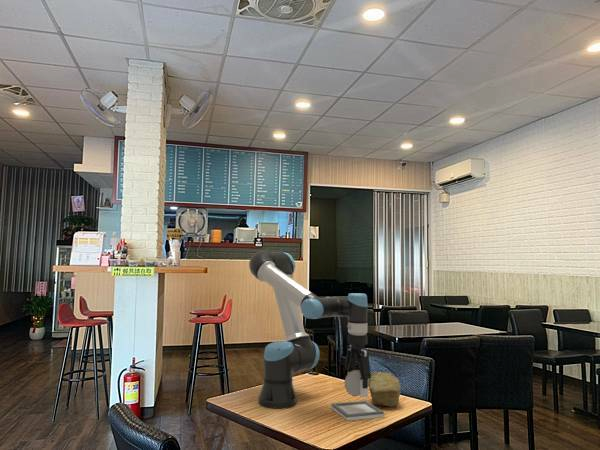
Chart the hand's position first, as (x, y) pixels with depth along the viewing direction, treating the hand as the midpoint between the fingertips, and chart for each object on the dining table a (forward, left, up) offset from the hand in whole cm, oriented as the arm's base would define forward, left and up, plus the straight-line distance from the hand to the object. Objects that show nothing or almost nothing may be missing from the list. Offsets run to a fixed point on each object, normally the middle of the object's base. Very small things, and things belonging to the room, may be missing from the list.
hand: (357, 393), depth 169 cm
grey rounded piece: (0, 0, -1) cm, 1 cm away
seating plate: (0, 0, -7) cm, 7 cm away
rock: (-7, +16, -7) cm, 19 cm away
